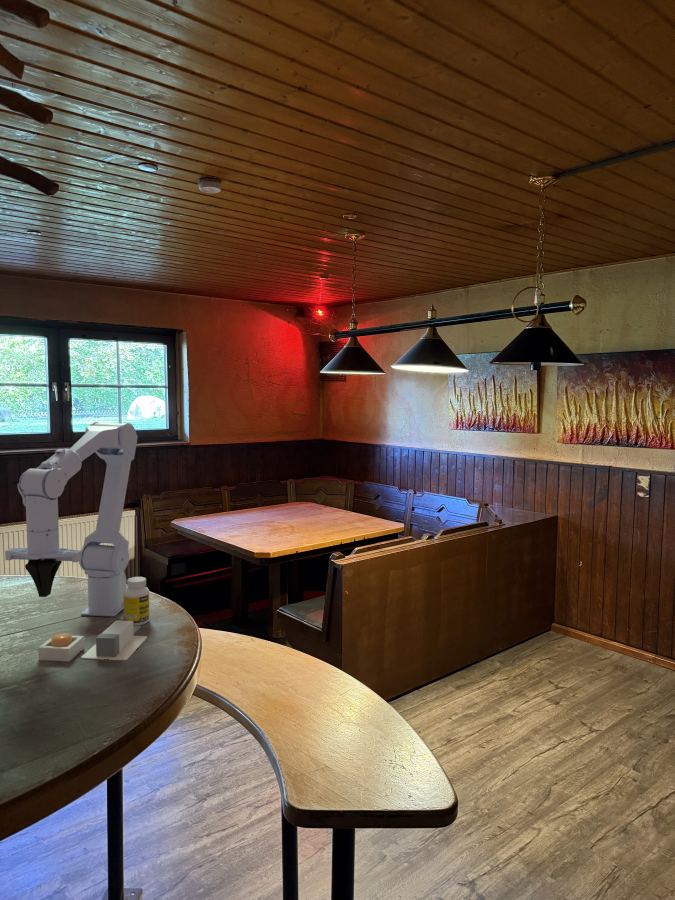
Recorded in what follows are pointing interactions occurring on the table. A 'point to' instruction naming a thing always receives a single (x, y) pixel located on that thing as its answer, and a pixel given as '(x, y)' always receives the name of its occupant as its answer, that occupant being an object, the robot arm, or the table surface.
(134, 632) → the card
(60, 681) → the table surface
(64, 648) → the button box
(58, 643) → the button
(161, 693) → the table surface
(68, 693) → the table surface
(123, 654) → the paper sheet
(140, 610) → the supplement bottle
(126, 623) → the grey rectangular prism
